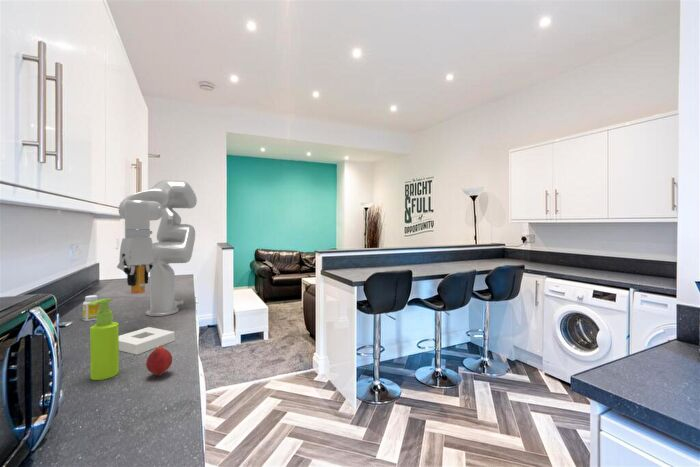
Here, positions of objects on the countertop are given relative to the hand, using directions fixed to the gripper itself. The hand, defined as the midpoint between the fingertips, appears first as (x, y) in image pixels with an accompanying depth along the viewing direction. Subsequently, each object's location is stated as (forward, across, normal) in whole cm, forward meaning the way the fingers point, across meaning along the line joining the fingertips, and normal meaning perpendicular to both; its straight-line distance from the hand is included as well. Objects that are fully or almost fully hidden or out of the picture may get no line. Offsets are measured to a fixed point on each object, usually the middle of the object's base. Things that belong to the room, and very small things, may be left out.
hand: (138, 283), depth 117 cm
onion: (+17, +21, +38) cm, 47 cm away
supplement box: (+4, 0, 0) cm, 4 cm away
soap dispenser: (+17, +27, +25) cm, 41 cm away
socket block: (+17, +8, +13) cm, 23 cm away
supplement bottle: (+18, -2, -33) cm, 38 cm away
